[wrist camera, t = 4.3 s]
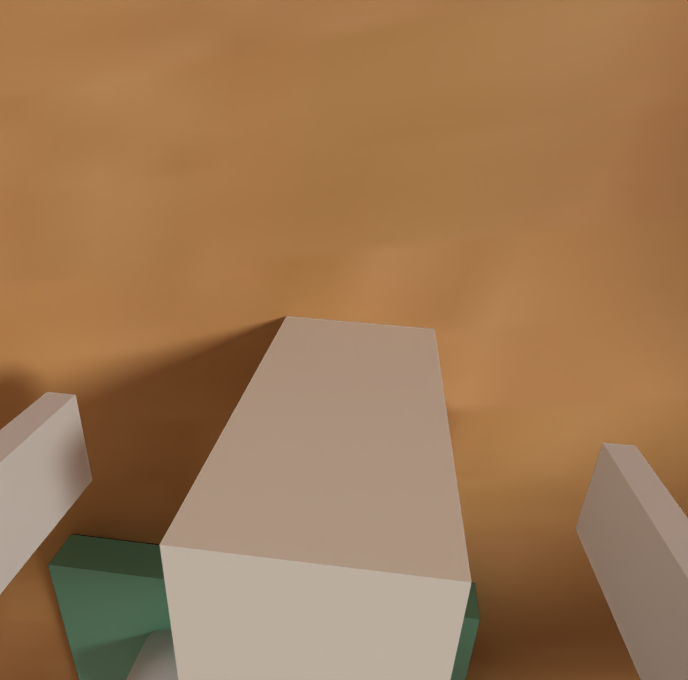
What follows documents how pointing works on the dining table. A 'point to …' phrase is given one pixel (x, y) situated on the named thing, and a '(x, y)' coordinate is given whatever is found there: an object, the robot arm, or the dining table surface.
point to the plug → (325, 518)
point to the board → (143, 611)
